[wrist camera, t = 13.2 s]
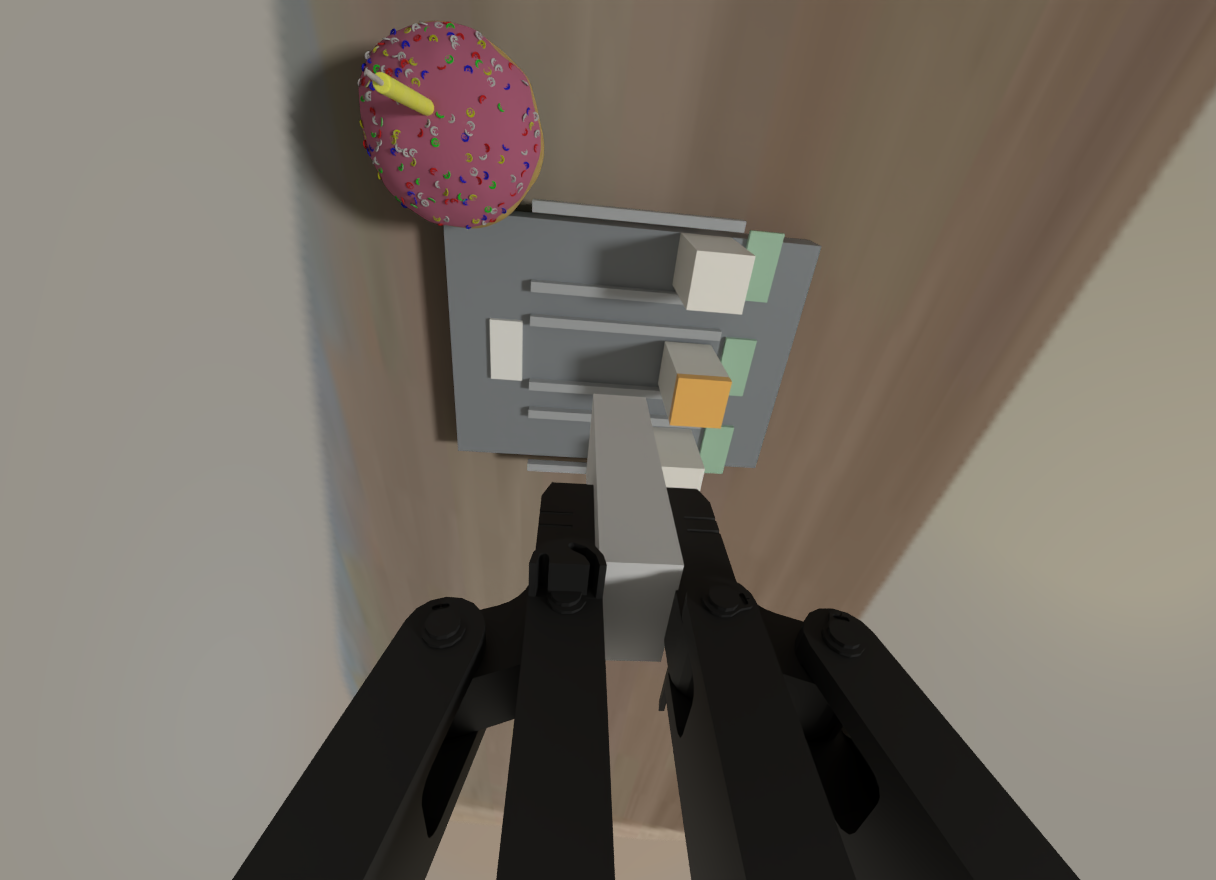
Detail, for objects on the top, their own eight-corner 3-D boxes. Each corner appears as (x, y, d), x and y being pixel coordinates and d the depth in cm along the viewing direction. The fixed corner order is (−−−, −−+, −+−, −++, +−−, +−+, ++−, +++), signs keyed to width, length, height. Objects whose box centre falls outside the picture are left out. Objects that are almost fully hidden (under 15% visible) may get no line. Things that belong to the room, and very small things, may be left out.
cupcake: (357, 96, 27) (221, 78, 17) (487, -5, 25) (422, -94, 15) (458, 243, 31) (398, 300, 21) (577, 165, 29) (574, 187, 19)
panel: (449, 185, 30) (415, 200, 24) (813, 222, 31) (867, 245, 26) (464, 447, 39) (442, 505, 33) (744, 463, 41) (772, 521, 35)
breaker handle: (664, 341, 33) (678, 378, 28) (710, 344, 33) (732, 381, 28) (657, 383, 34) (669, 425, 29) (701, 386, 34) (720, 428, 30)
